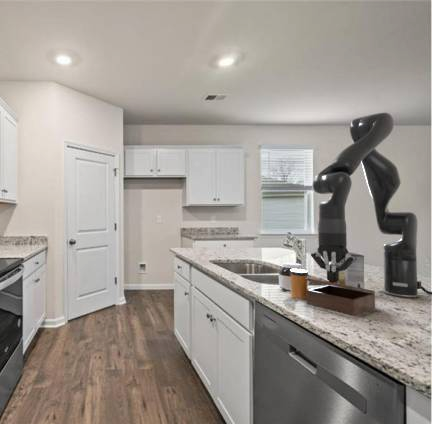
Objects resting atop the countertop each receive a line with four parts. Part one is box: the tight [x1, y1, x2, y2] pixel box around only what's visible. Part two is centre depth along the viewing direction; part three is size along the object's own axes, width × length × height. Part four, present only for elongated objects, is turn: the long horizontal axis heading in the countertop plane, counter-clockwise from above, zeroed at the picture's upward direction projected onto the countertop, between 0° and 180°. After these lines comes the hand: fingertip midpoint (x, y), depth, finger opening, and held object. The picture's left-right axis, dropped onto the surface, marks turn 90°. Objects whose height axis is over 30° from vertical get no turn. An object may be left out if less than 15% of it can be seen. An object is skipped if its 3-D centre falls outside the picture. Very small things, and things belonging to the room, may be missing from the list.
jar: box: [290, 269, 309, 300], centre depth 107 cm, size 6×6×11 cm
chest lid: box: [306, 277, 376, 295], centre depth 96 cm, size 16×14×1 cm
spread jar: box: [278, 262, 310, 293], centre depth 120 cm, size 12×11×12 cm
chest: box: [306, 284, 376, 317], centre depth 96 cm, size 15×14×6 cm
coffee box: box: [337, 251, 365, 292], centre depth 117 cm, size 9×6×16 cm
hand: (332, 282), depth 94 cm, fingers closed
